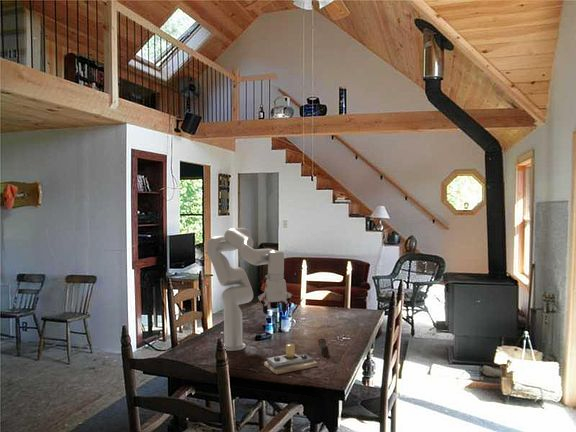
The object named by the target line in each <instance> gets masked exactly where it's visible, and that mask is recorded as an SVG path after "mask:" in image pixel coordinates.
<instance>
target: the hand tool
mask: <svg viewBox="0 0 576 432" xmlns="http://www.w3.org/2000/svg"><path fill="white" fill-rule="evenodd" d="M317 342H318V347H320V354H321V356H322V357H324V358H325V357H326V356H327V341H326V339H325V338H319V339H318V340H317Z"/></svg>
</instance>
